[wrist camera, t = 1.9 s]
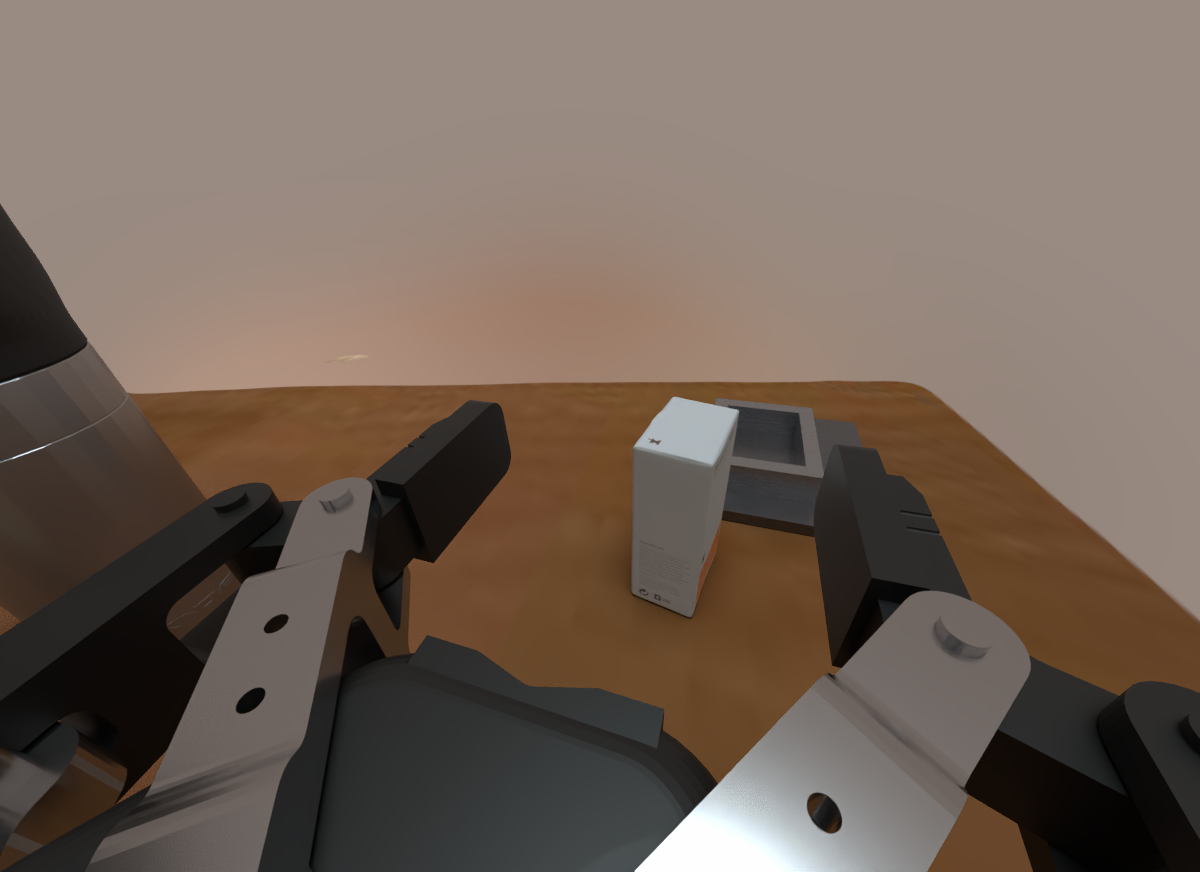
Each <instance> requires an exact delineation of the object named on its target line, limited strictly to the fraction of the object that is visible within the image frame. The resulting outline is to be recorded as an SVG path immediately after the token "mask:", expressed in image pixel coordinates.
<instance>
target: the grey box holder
mask: <svg viewBox="0 0 1200 872" xmlns="http://www.w3.org/2000/svg"><path fill="white" fill-rule="evenodd" d="M715 405H716V406H722V407H727V408H731V409H737V410H739V417H738V423H737V429H736V435H735V441H734V447H733V453H732V459H731V465H730V471H729V478H728V484H727V490H726V495H725V501H724V508H723V514H722V520H727V521H732V522H738V523H743V524H749V525H754V526H760V527H765V528H770V529H776V530H781V531H787V532H792V533H798V534H803V535H808V536H814V537H815V533H814V523H813V522H814V508H815V503H816V499H817V495H818V492H819V488H820V485H821V482H822V478H823V475H824V472H825V468H826V465H827V462H828V458H829V455H830V452H831V449H832V447H833V446H834V445H835V444H839V445H847V446H856V447H862V445H861V442H860V439H859V435H858V432H857V429H856V426H855V423H851V422H842V421H833V420H824V419H815V418H814V416H813V411H812V408H804V407H795V406H786V405H776V404H767V403H758V402H748V401H739V400H729V399H720V398H716V402H715Z"/></svg>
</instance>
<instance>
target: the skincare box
mask: <svg viewBox="0 0 1200 872" xmlns="http://www.w3.org/2000/svg"><path fill="white" fill-rule="evenodd" d="M738 417H739V410H737V409H731V408H727V407H722V406H716V405H711V404H707V403H702V402H697V401H692V400H687V399H683V398H678V397H673V398H672V399H671V400H670V401H669V402H668V404H667V405H666V406H665V407H664V409H663V410H662V411H661V412H660V413H659V414H657V416H656V417H655V418H654V419H653V420H652V422H651V424H650V426H649V427H648V428H647V430H646V431H645V432H644V434H643V435H642V436H641V438H640V439H639V440H638V441H637V443H636V444H635V445H634V447H633V500H632V581H631V592H632V593H633V594H634V595H636V596H639V597H641V598H644V599H646V600H648V601H651V602H654V603H656V604H658V605H661V606H663V607H666V608H668V609H670V610H673V611H675V612H677V613H680V614H682V615H684V616H687V617H692V615H693V613H694V609H695V606H696V603H697V601H698V598H699V595H700V592H701V589H702V586H703V584H704V581H705V578H706V576H707V574H708V571H709V569H710V566H711V564H712V561H713V559H714V556H715V554H716V549H717V543H718V537H719V531H720V525H721V519H722V514H723V508H724V501H725V495H726V490H727V484H728V478H729V471H730V465H731V459H732V453H733V447H734V441H735V435H736V429H737V423H738Z"/></svg>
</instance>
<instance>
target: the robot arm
mask: <svg viewBox="0 0 1200 872" xmlns="http://www.w3.org/2000/svg"><path fill="white" fill-rule="evenodd" d="M510 460H511V451H510V446H509V441H508V436H507V431H506V426H505V421H504V416H503V411H502V408H501V407H500V405H499V404H497V403H491V402H483V401H474V400H470V401H468V402H466V403H465V404H464V405H463V406H461V407H460V408H459V409H458V410H457V411H455V412H454V413H453V414H452V415H451V416H449V417H448V418H445V419H443V420H441V421H439V422H437V423H435V424H433V425H432V426H430V427H429V428H428V429H427V430H426V431H424V432H423V433H422V434H421V435H419V438H416V439H415V440H413V441H412V442H411V443H410V444H408V447H405V448H404V449H402V450H401V451H400V452H399V453H397V454H396V455H395V456H394V457H393V458H391V459H390V460H389V461H388V462H386V463H385V464H384V465H383V466H382V467H380V468H379V469H378V470H377V471H375V472H374V473H373V474H372V475H371V476H369V477H368V478H367V479H363V478H345V479H340V480H336V481H333V482H331V483H328V484H326V485H323V486H322V487H320V488H318V489H316V490H315V491H313V492H312V493H311V494H309V495H308V496H307V497H306V498H305V499H304V500H303V501H287V502H279V500H278V499H277V497H276V496H275V494H274V492H273V491H272V489H271V487H270V486H269V485H267V484H264V483H248V484H243V485H239V486H236V487H232V488H230V489H227V490H225V491H222V492H220V493H218V494H216V495H214V496H213V497H211V498H209V499H208V500H206V498H205V497H204V496H203V494H202V493H201V491H200V490H199V489H198V487H197V486H196V485H195V483H194V482H193V481H192V479H191V478H190V477H189V475H188V474H187V473H186V471H185V470H184V469H183V467H182V466H181V464H180V463H179V462H178V460H177V459H176V458H175V456H174V455H173V454H172V452H171V451H170V450H169V448H168V447H167V446H166V444H165V443H164V442H163V440H162V439H161V438H160V436H159V435H158V433H157V432H156V431H155V429H154V428H153V427H152V425H151V424H150V423H149V421H148V420H147V419H146V417H145V416H144V415H143V413H142V412H141V411H140V409H139V408H138V406H137V405H136V404H135V402H134V401H133V400H132V398H131V397H130V396H129V394H128V393H127V392H126V391H125V390H124V388H123V387H122V385H121V384H120V383H119V381H118V380H117V379H116V377H115V376H114V375H113V373H112V372H111V371H110V369H109V368H108V367H107V365H106V364H105V363H104V361H103V360H102V358H101V357H100V356H99V354H98V353H97V352H96V350H95V349H94V348H93V346H92V345H91V344H90V343H89V342H88V341H87V338H86V337H85V335H84V334H83V333H82V331H81V330H80V328H79V327H78V326H77V324H76V323H75V322H74V320H73V319H72V317H71V316H70V314H69V313H68V311H67V309H66V308H65V306H64V304H63V302H62V300H61V298H60V296H59V295H58V293H57V291H56V289H55V287H54V285H53V283H52V282H51V279H50V278H49V276H48V274H47V273H46V271H45V269H44V268H43V266H42V264H41V263H40V261H39V260H38V258H37V257H36V255H35V254H34V253H33V251H32V249H31V248H30V247H29V245H28V244H27V242H26V241H25V239H24V238H23V237H22V235H21V234H20V233H19V231H18V230H17V228H16V227H15V225H14V224H13V222H12V221H11V219H10V218H9V216H8V215H7V213H6V212H5V210H4V209H3V207H2V206H1V204H0V606H2V607H3V608H4V609H6V610H7V611H8V612H10V613H11V614H12V615H14V616H15V617H16V618H18V619H19V620H20V621H22V622H21V623H19V624H18V625H16V626H15V627H13V628H12V629H10V630H8V631H7V632H5V633H4V634H2V635H1V636H0V872H927V870H928V869H929V867H930V865H931V863H932V862H933V860H934V858H935V856H936V855H937V853H938V851H939V849H940V848H941V846H942V844H943V842H944V841H945V839H946V837H947V835H948V834H949V832H950V830H951V828H952V826H953V825H954V823H955V821H956V819H957V818H958V816H959V814H960V812H961V810H962V808H963V806H964V804H965V802H966V799H967V796H968V794H969V795H971V796H972V797H974V798H976V799H977V800H979V801H981V802H982V803H984V804H986V805H987V806H989V807H991V808H992V809H994V810H996V811H997V812H999V813H1001V814H1002V815H1004V816H1006V817H1007V818H1009V819H1011V820H1012V821H1014V822H1016V823H1017V824H1018V826H1019V829H1020V832H1021V836H1022V839H1023V842H1024V845H1025V848H1026V851H1027V854H1028V857H1029V860H1030V863H1031V866H1032V869H1033V872H1200V693H1198V692H1195V691H1193V690H1190V689H1187V688H1184V687H1181V686H1177V685H1174V684H1169V683H1164V682H1154V681H1147V682H1139V683H1136V684H1134V685H1132V686H1131V687H1130V688H1128V689H1127V690H1126V691H1125V692H1123V693H1122V694H1121V695H1120V696H1118V695H1116V694H1113V693H1111V692H1109V691H1106V690H1104V689H1102V688H1099V687H1097V686H1095V685H1093V684H1090V683H1088V682H1086V681H1083V680H1081V679H1079V678H1076V677H1074V676H1072V675H1070V674H1067V673H1065V672H1063V671H1060V670H1058V669H1056V668H1053V667H1051V666H1049V665H1047V664H1045V663H1043V662H1041V661H1039V660H1036V659H1035V658H1033V657H1031V656H1029V654H1028V652H1027V650H1026V648H1025V646H1024V644H1023V643H1022V642H1021V640H1020V639H1019V637H1018V636H1017V635H1016V634H1015V633H1014V632H1013V630H1012V629H1011V628H1010V627H1009V626H1008V625H1006V624H1005V623H1004V622H1003V621H1002V620H1001V619H999V618H998V617H997V616H996V615H994V614H993V613H991V612H990V611H988V610H987V609H985V608H984V607H982V606H980V605H978V604H976V603H974V602H972V600H971V598H970V596H969V594H968V591H967V589H966V587H965V585H964V583H963V581H962V579H961V576H960V574H959V572H958V570H957V568H956V566H955V563H954V561H953V559H952V557H951V555H950V553H949V551H948V548H947V546H946V544H945V542H944V540H943V538H942V536H939V532H940V531H939V529H938V527H937V525H936V523H935V520H934V519H932V518H931V516H932V514H931V512H930V510H929V508H928V505H927V503H926V501H925V499H924V497H923V495H922V494H921V493H920V492H919V491H918V490H917V489H916V488H915V487H913V486H912V485H911V484H910V483H909V482H908V481H907V480H906V479H905V478H904V477H902V476H894V475H887V474H886V472H885V469H884V467H883V464H882V461H881V459H880V456H879V454H878V451H877V450H876V449H873V448H864V447H856V446H847V445H839V444H835V445H834V446H833V447H832V449H831V452H830V455H829V458H828V462H827V465H826V468H825V472H824V475H823V478H822V482H821V485H820V488H819V492H818V495H817V499H816V503H815V508H814V522H813V523H814V533H815V541H816V549H817V556H818V564H819V571H820V579H821V586H822V594H823V601H824V609H825V616H826V624H827V631H828V639H829V646H830V654H831V661H832V666H836V667H840V668H841V669H840V670H839V671H838V672H837V673H836V674H835V675H834V676H833V675H831V674H830V673H828V674H826V675H824V676H823V677H821V678H820V679H819V680H818V681H817V682H816V683H815V684H814V685H813V686H812V687H811V688H810V689H809V690H808V691H807V692H806V693H805V694H804V695H803V696H802V697H801V698H800V699H799V700H798V701H797V702H796V703H795V704H794V705H793V707H792V708H791V709H790V710H789V711H788V712H787V713H786V714H785V715H784V716H783V717H782V718H781V719H780V720H779V721H778V722H777V723H776V724H775V725H774V726H773V727H772V728H771V729H770V731H769V732H768V733H767V734H766V735H765V736H764V737H763V738H762V739H761V740H760V741H759V742H758V743H757V744H756V745H755V746H754V747H753V748H752V749H751V750H750V751H749V752H748V754H747V755H746V756H745V757H744V758H743V759H742V760H741V761H740V762H739V763H738V764H737V765H736V766H735V767H734V768H733V769H732V770H731V771H730V772H729V773H728V774H727V775H726V776H725V778H724V779H723V780H722V781H721V782H720V783H719V784H718V783H717V782H716V780H715V779H714V778H713V776H712V775H711V774H710V772H709V771H708V770H707V769H706V767H705V766H704V765H703V764H702V763H701V762H700V761H699V760H698V759H697V758H696V757H695V756H694V755H693V754H692V753H691V752H690V751H689V750H688V749H687V748H686V747H684V746H683V745H682V744H681V743H680V742H679V741H677V740H676V739H675V738H673V737H672V736H670V735H669V734H667V733H666V732H665V731H663V720H664V709H662V708H659V707H656V706H653V705H650V704H646V703H643V702H640V701H637V700H634V699H630V698H627V697H624V696H621V695H617V694H614V693H611V692H608V691H605V690H601V689H598V688H564V687H533V686H528V685H525V684H524V683H522V682H521V681H519V680H518V679H516V678H515V677H514V676H512V675H511V674H509V673H508V672H507V671H505V670H504V669H502V668H501V667H500V666H498V665H497V664H495V663H494V662H493V661H491V660H490V659H488V658H487V657H486V656H484V655H483V654H482V653H480V652H479V651H476V650H473V649H470V648H467V647H464V646H460V645H457V644H454V643H451V642H448V641H444V640H441V639H438V638H435V637H431V636H428V635H427V636H426V638H425V639H424V640H423V642H422V643H421V645H420V646H419V648H418V649H417V650H416V652H415V653H411V654H410V652H409V645H408V628H409V602H410V571H409V568H408V566H407V565H408V564H409V563H410V562H411V560H412V559H413V558H416V559H420V560H424V561H427V562H431V563H434V562H435V561H436V560H437V558H438V557H439V556H440V555H441V553H442V552H443V551H444V550H445V548H446V547H447V546H448V545H449V543H450V542H451V541H452V540H453V538H454V537H455V536H456V535H457V534H458V532H459V531H460V530H461V529H462V527H463V526H464V525H465V524H466V522H467V521H468V520H469V519H470V517H471V516H472V515H473V514H474V512H475V511H476V510H477V509H478V507H479V506H480V505H481V504H482V503H483V501H484V500H485V499H486V498H487V496H488V495H489V494H490V493H491V491H492V490H493V489H494V488H495V486H496V485H497V484H498V483H499V481H500V480H501V479H502V478H503V476H504V475H505V474H506V472H507V471H508V468H509V465H510ZM60 719H61V720H60ZM58 720H60V722H58ZM167 749H168V750H167ZM166 750H167V752H166V754H165V757H164V759H163V761H162V763H161V766H160V768H159V770H158V772H157V774H156V777H155V779H154V781H153V783H152V784H151V785H150V786H148V787H146V788H144V789H143V790H141V791H139V792H137V793H136V794H134V795H132V796H130V797H129V798H127V799H125V800H123V801H122V802H120V803H118V804H116V803H117V802H118V801H119V800H120V799H121V798H122V797H123V796H124V795H125V794H126V793H127V792H128V790H129V789H130V788H131V787H132V786H133V785H134V784H135V783H136V782H137V781H138V780H139V779H140V778H141V777H142V776H143V775H144V774H145V773H146V771H147V770H148V769H149V768H150V767H151V766H152V765H153V764H154V763H155V762H156V761H157V760H158V759H159V758H160V757H161V756H162V755H163V754H164V752H165V751H166Z"/></svg>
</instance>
